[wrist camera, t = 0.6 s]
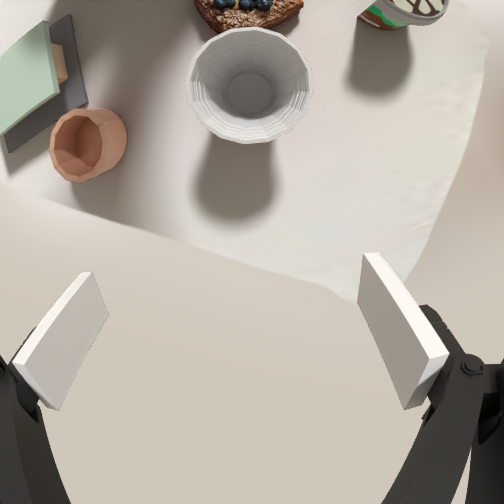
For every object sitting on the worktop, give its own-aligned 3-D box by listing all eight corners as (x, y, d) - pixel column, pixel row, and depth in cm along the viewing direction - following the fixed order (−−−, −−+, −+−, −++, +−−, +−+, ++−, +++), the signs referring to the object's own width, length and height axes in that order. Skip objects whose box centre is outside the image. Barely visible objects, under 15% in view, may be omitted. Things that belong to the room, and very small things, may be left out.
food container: (384, 54, 28) (422, 41, 20) (350, 22, 27) (380, -2, 18) (427, 12, 24) (466, -3, 15) (397, -17, 23) (430, -41, 14)
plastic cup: (244, 153, 35) (241, 170, 24) (188, 91, 31) (159, 81, 21) (312, 102, 32) (340, 96, 21) (256, 38, 28) (258, 5, 18)
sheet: (-20, 81, 23) (-25, 81, 21) (48, 21, 21) (43, 20, 20) (-9, 145, 28) (-14, 146, 27) (60, 92, 26) (54, 92, 25)
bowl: (67, 124, 32) (42, 128, 27) (117, 97, 31) (96, 96, 26) (84, 180, 36) (62, 191, 31) (136, 158, 35) (117, 166, 30)
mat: (-5, 74, 26) (-24, 75, 22) (70, 15, 24) (52, 8, 20) (11, 152, 33) (-9, 159, 29) (88, 102, 31) (69, 102, 27)
